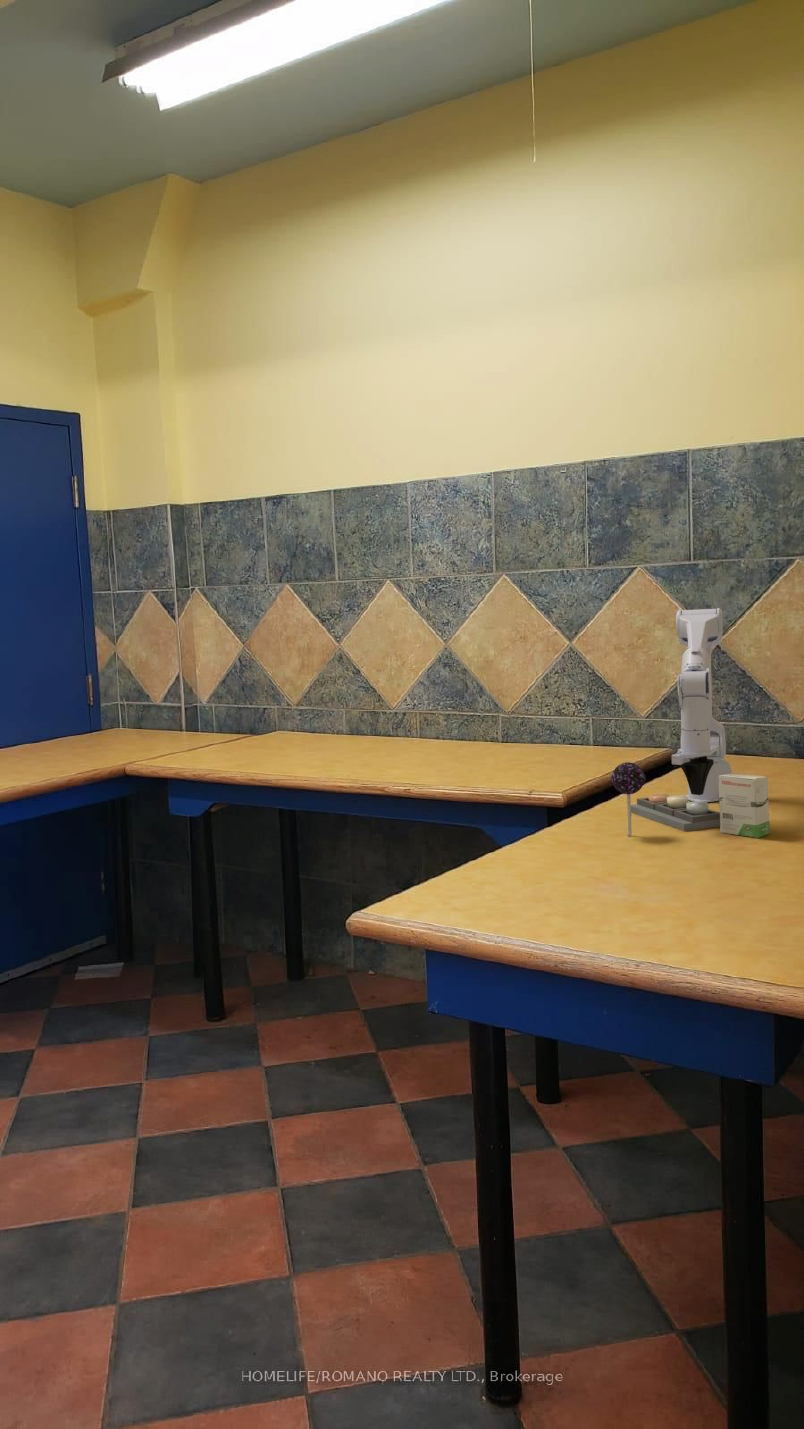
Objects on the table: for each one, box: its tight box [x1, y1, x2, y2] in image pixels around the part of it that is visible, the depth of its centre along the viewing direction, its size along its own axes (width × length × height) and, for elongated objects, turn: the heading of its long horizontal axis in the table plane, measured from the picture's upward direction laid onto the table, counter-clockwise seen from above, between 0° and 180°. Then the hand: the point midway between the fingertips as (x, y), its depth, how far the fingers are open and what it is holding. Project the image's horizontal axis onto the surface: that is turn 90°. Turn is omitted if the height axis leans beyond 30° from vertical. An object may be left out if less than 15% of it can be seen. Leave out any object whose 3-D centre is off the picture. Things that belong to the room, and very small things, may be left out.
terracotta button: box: [648, 793, 670, 803], centre depth 239 cm, size 4×4×2 cm
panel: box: [631, 796, 720, 832], centre depth 232 cm, size 11×22×3 cm, turn 18°
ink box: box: [718, 772, 771, 839], centre depth 215 cm, size 9×5×12 cm, turn 39°
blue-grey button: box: [686, 801, 710, 814], centre depth 224 cm, size 4×4×2 cm
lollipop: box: [610, 761, 647, 837], centre depth 218 cm, size 7×7×15 cm
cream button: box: [667, 794, 689, 808], centre depth 231 cm, size 4×4×2 cm
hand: (697, 794), depth 224 cm, fingers closed
